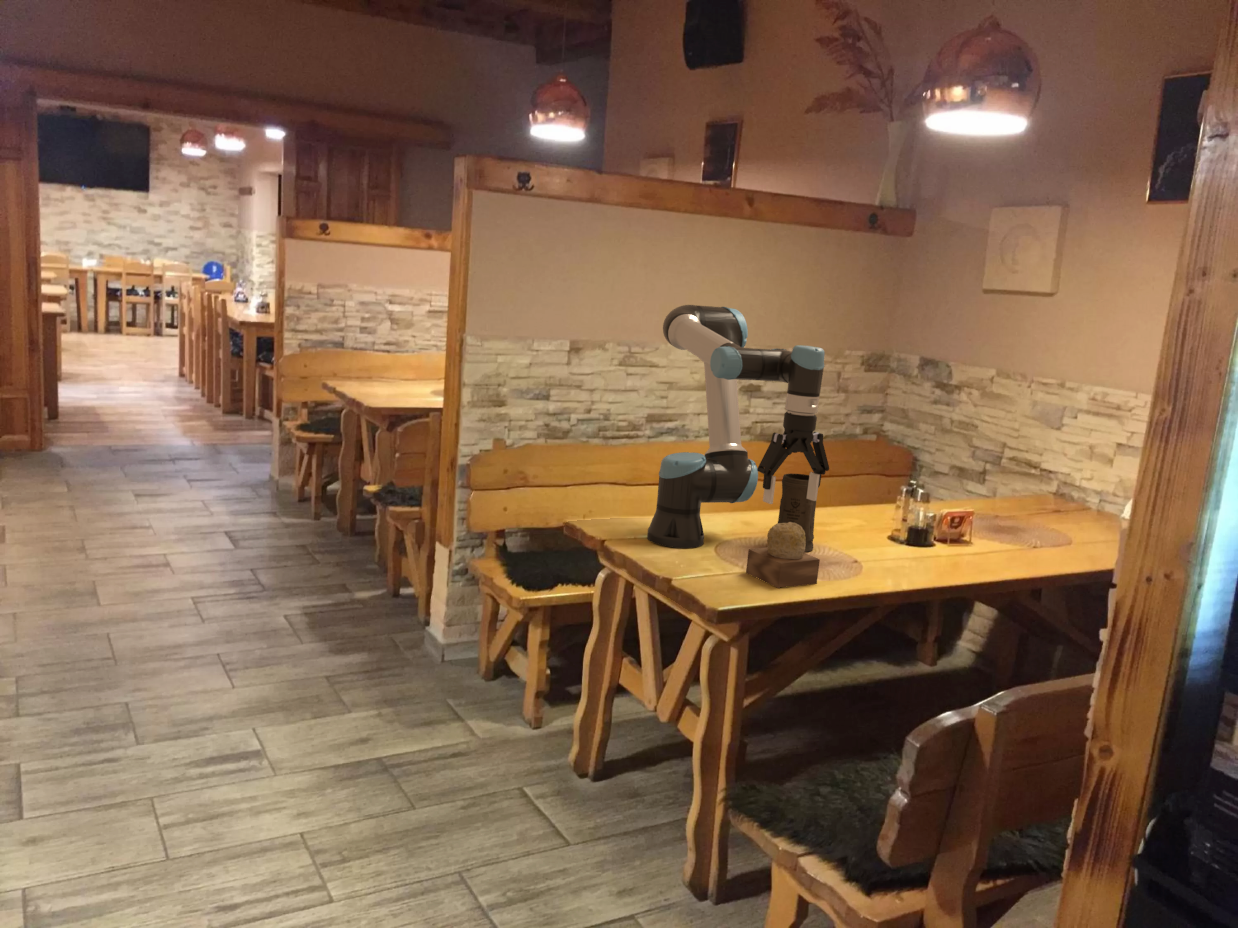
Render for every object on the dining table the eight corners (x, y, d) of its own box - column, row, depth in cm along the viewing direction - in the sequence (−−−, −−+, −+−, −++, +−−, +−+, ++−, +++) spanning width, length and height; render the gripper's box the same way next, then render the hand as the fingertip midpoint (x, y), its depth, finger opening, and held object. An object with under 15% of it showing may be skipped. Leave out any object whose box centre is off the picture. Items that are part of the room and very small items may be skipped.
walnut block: (745, 572, 236) (748, 549, 235) (783, 568, 243) (786, 545, 241) (778, 588, 226) (781, 563, 225) (816, 583, 233) (819, 559, 232)
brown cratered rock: (794, 562, 227) (798, 530, 226) (759, 553, 232) (762, 522, 231) (810, 554, 235) (814, 524, 233) (776, 546, 240) (779, 516, 238)
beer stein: (812, 555, 257) (822, 480, 254) (772, 549, 259) (781, 475, 256) (812, 544, 272) (822, 474, 269) (774, 539, 274) (782, 469, 271)
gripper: (770, 415, 217) (758, 507, 221) (851, 415, 230) (839, 502, 234) (748, 410, 223) (738, 499, 228) (829, 410, 236) (818, 494, 241)
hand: (789, 501), depth 231 cm, fingers open, 13 cm apart
